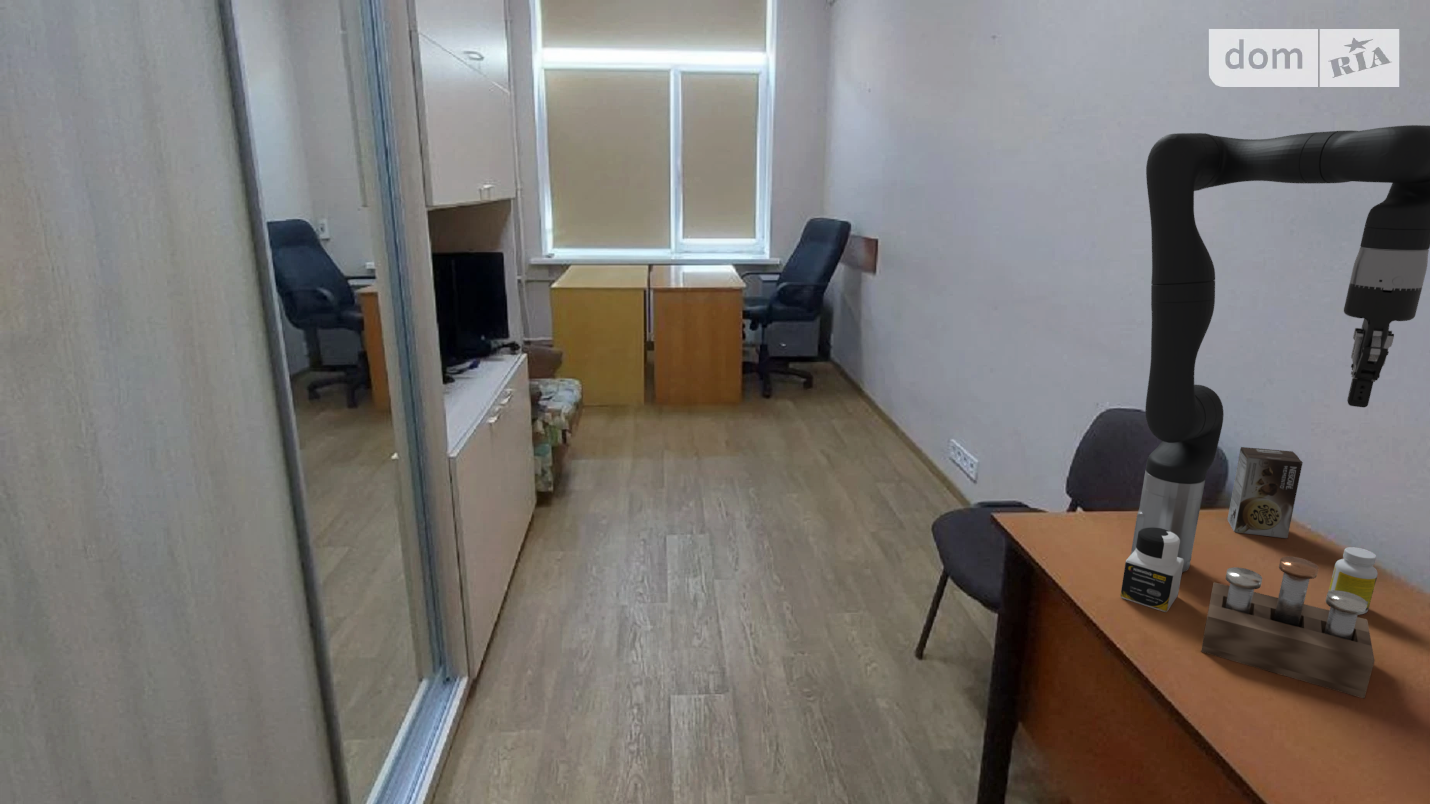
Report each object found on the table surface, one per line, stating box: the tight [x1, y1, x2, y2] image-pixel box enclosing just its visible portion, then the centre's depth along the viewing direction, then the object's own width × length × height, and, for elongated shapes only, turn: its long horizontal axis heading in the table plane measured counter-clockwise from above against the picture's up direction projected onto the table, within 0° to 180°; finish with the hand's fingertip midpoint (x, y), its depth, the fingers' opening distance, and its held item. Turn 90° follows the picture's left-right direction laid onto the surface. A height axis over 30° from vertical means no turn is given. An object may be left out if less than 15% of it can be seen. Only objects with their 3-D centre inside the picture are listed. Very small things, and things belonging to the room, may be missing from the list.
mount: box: [1200, 581, 1375, 699], centre depth 114 cm, size 19×12×6 cm, turn 55°
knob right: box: [1324, 590, 1367, 640], centre depth 109 cm, size 4×4×10 cm
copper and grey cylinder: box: [1273, 556, 1319, 627], centre depth 112 cm, size 4×4×10 cm
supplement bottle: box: [1327, 546, 1379, 614], centre depth 125 cm, size 5×5×10 cm
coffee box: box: [1226, 446, 1304, 539], centre depth 152 cm, size 9×6×16 cm
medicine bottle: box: [1119, 527, 1184, 613], centre depth 128 cm, size 7×7×12 cm
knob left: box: [1225, 566, 1263, 614], centre depth 116 cm, size 4×4×10 cm
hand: (1356, 405), depth 109 cm, fingers closed
